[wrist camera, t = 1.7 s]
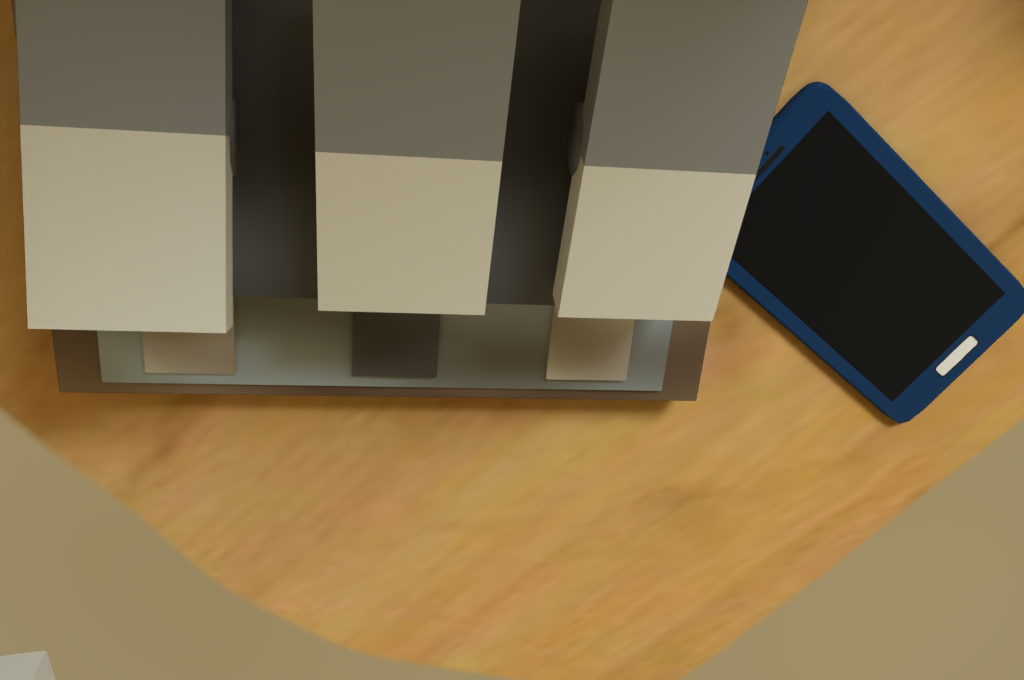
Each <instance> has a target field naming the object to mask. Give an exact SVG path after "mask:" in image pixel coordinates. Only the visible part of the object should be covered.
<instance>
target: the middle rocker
mask: <svg viewBox="0 0 1024 680" xmlns="http://www.w3.org/2000/svg"><path fill="white" fill-rule="evenodd" d="M520 3H521V0H313V49H314V106H315V162H316V219H317V275H318V311H349V312H386V313H423V314H460V315H485V307H486V299H487V290H488V281H489V273H490V264H491V255H492V246H493V238H494V229H495V220H496V212H497V203H498V194H499V186H500V177H501V168H502V159H503V151H504V142H505V133H506V125H507V116H508V107H509V99H510V90H511V81H512V73H513V64H514V55H515V46H516V38H517V29H518V20H519V12H520Z"/></svg>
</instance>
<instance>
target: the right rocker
mask: <svg viewBox="0 0 1024 680" xmlns="http://www.w3.org/2000/svg"><path fill="white" fill-rule="evenodd" d="M807 2H808V0H601V5H600V11H599V17H598V23H597V29H596V35H595V41H594V47H593V53H592V59H591V65H590V71H589V77H588V83H587V89H586V95H585V101H584V102H576V103H575V105H574V107H573V110H572V113H571V117H570V123H569V130H568V144H567V155H568V166H569V170H570V173H571V174H572V179H571V185H570V191H569V197H568V204H567V210H566V216H565V222H564V228H563V234H562V240H561V246H560V252H559V258H558V264H557V270H556V276H555V282H554V288H553V298H554V302H555V306H556V311H557V315H558V317H572V318H609V319H646V320H683V321H713V318H714V314H715V311H716V308H717V304H718V301H719V298H720V294H721V291H722V288H723V284H724V281H725V277H726V274H727V271H728V267H729V264H730V261H731V257H732V254H733V251H734V247H735V244H736V241H737V237H738V234H739V231H740V227H741V224H742V220H743V217H744V214H745V210H746V207H747V204H748V200H749V197H750V194H751V190H752V187H753V184H754V180H755V177H756V173H757V170H758V167H759V163H760V160H761V157H762V153H763V150H764V147H765V143H766V140H767V137H768V133H769V130H770V127H771V123H772V120H773V116H774V113H775V110H776V106H777V103H778V100H779V96H780V93H781V90H782V86H783V83H784V80H785V76H786V73H787V69H788V66H789V63H790V59H791V56H792V53H793V49H794V46H795V43H796V39H797V36H798V33H799V29H800V26H801V23H802V19H803V16H804V12H805V9H806V6H807Z"/></svg>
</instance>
